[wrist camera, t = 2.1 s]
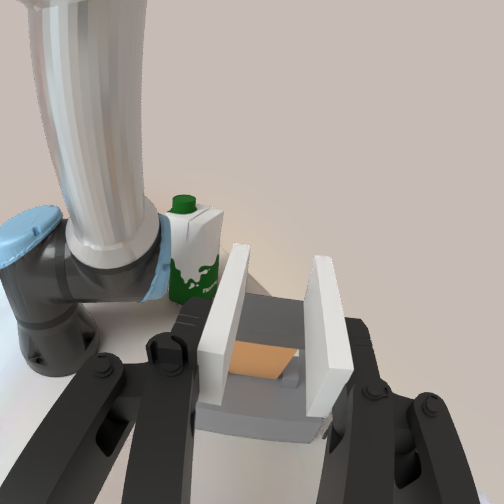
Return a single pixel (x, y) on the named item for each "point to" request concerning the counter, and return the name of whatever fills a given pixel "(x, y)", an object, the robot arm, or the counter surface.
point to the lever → (267, 336)
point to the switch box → (263, 407)
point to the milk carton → (193, 249)
